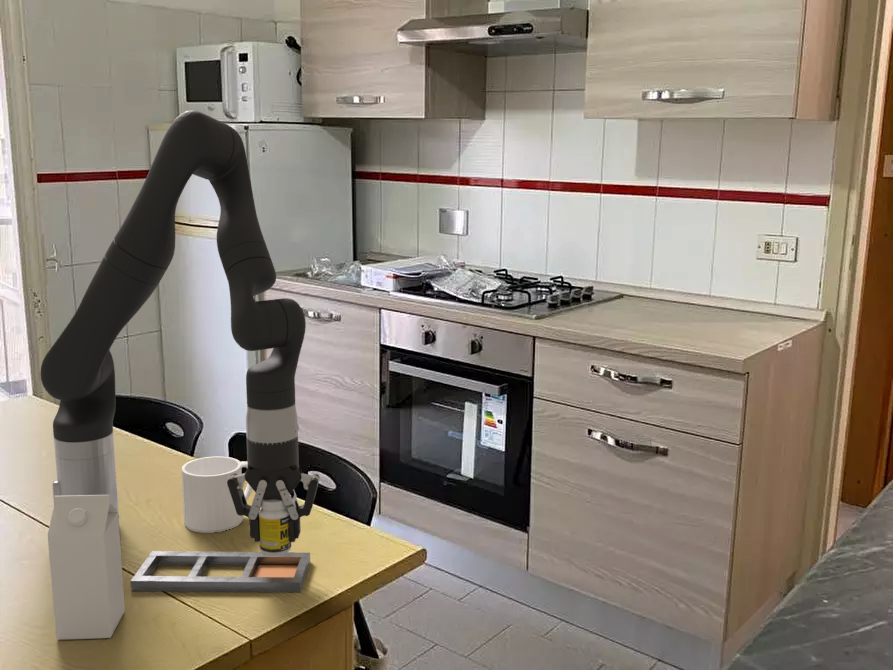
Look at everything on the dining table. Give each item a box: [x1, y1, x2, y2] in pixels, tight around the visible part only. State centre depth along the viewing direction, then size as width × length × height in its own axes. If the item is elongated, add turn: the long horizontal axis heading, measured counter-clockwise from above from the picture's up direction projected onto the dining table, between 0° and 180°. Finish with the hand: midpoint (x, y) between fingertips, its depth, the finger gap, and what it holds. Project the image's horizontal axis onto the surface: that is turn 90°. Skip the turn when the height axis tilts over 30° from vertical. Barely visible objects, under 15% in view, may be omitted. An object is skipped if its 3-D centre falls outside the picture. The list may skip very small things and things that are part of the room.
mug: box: [181, 455, 254, 534], centre depth 158 cm, size 13×10×10 cm
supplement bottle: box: [259, 498, 292, 556], centre depth 137 cm, size 5×5×8 cm
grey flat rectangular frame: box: [130, 550, 311, 593], centre depth 138 cm, size 25×10×2 cm, turn 90°
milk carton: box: [47, 495, 126, 641], centre depth 122 cm, size 7×7×19 cm
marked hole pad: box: [253, 565, 298, 577], centre depth 138 cm, size 6×6×1 cm
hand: (275, 539), depth 137 cm, fingers closed on supplement bottle, 4 cm apart
